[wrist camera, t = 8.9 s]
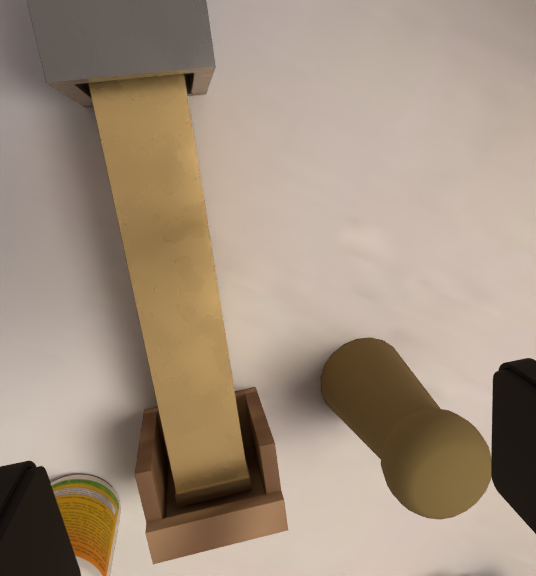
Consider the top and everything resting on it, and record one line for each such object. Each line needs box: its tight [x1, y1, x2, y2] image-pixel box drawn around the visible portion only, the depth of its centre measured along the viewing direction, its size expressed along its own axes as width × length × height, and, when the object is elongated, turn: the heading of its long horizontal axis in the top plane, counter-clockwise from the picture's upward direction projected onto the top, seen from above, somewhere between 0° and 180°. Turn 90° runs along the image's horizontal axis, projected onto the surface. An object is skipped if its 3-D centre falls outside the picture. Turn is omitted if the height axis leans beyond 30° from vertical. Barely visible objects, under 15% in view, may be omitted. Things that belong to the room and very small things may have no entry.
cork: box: [321, 338, 491, 519], centre depth 26 cm, size 6×6×11 cm
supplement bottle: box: [51, 475, 121, 576], centre depth 25 cm, size 5×5×10 cm
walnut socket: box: [135, 388, 288, 564], centre depth 26 cm, size 7×5×7 cm
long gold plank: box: [89, 74, 252, 507], centre depth 24 cm, size 4×24×4 cm, turn 7°
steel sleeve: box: [27, 0, 215, 107], centre depth 20 cm, size 6×6×7 cm
